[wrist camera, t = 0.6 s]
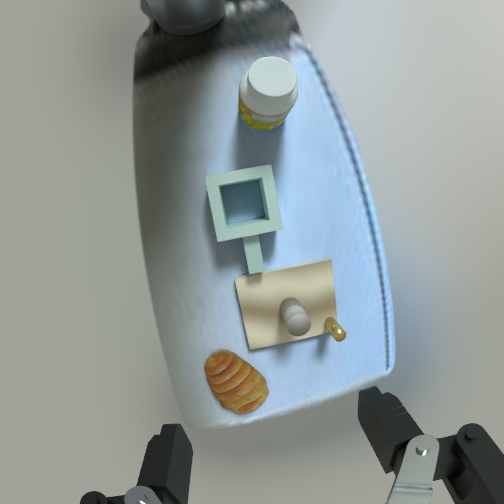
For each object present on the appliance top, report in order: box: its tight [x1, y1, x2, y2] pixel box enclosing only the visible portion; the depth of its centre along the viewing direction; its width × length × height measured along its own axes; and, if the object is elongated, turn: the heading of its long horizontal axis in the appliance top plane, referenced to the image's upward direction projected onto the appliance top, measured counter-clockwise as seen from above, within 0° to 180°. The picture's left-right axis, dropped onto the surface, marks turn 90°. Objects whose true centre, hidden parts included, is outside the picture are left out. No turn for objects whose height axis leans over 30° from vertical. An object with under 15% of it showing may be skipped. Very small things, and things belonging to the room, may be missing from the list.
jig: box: [235, 258, 337, 350], centre depth 30 cm, size 9×11×6 cm
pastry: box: [204, 350, 269, 414], centre depth 33 cm, size 9×7×4 cm
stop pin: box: [324, 317, 346, 342], centre depth 31 cm, size 1×1×4 cm
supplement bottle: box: [238, 57, 298, 132], centre depth 24 cm, size 5×5×10 cm
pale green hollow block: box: [205, 164, 283, 274], centre depth 29 cm, size 10×6×4 cm, turn 11°
